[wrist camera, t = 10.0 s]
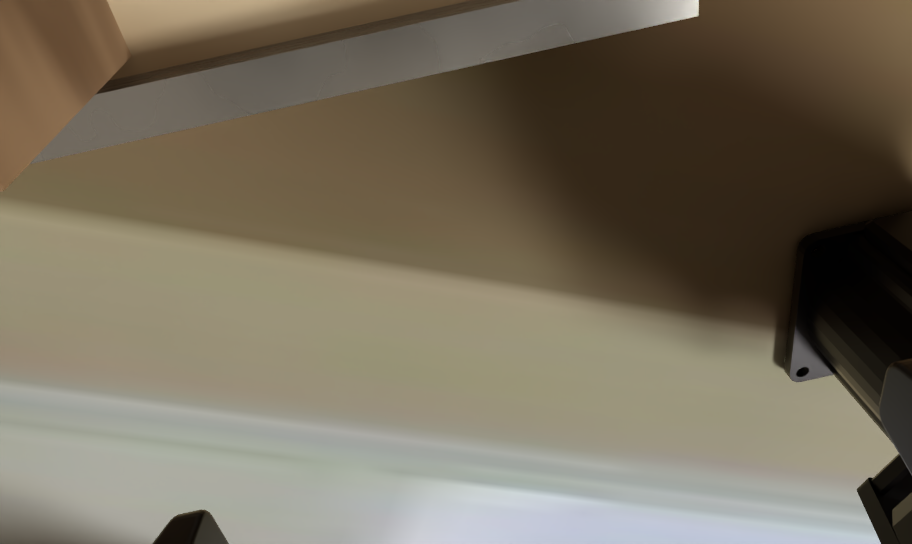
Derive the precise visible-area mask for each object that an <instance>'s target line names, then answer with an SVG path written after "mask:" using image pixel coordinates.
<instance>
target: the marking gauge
mask: <svg viewBox="0 0 912 544" xmlns="http://www.w3.org/2000/svg"><path fill="white" fill-rule="evenodd" d="M130 57H131V53H130V51H129V49H128V47H127V44H126V42H125V40H124V38H123V35H122V33H121V31H120V29H119V26H118V24H117V22H116V20H115V17H114V15H113V13H112V11H111V8H110V6H109V4H108V2H107V0H0V192H1V191H4V190H5V189H6V188H7V187H8V186H9V185H10V184H11V183H12V182H13V181H14V180H15V179H16V177H17V176H18V175H19V174H20V173H21V172H22V171H23V170H24V169H25V168H26V167H27V166H28V165H29V164H30V163H31V162H32V161H33V160H34V159H35V157H36V156H37V155H38V154H39V153H40V152H41V151H42V150H43V149H44V148H45V147H46V146H47V145H48V144H49V143H50V142H51V141H52V140H53V138H54V137H55V136H56V135H57V134H58V133H59V132H60V131H61V130H62V129H63V128H64V127H65V126H66V125H67V124H68V123H69V122H70V121H71V119H72V118H73V117H74V116H75V115H76V114H77V113H78V112H79V111H80V110H81V109H82V108H83V107H84V106H85V105H86V104H87V103H88V102H89V101H90V99H91V98H92V97H93V96H94V95H95V94H96V93H97V92H98V91H99V90H100V89H101V88H102V87H103V86H104V85H105V84H106V83H107V82H108V80H109V79H110V78H111V77H112V76H113V75H114V74H115V73H116V72H117V71H118V70H119V69H120V68H121V67H122V66H123V65H124V64H125V63H126V62H127V60H128V59H129V58H130Z"/></svg>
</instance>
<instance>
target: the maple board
mask: <svg viewBox="0 0 912 544" xmlns="http://www.w3.org/2000/svg"><path fill="white" fill-rule="evenodd" d="M466 1H470V0H107V2H108V4H109V6H110V8H111V11H112V13H113V15H114V17H115V20H116V22H117V24H118V26H119V29H120V31H121V33H122V35H123V38H124V40H125V42H126V44H127V47H128V49H129V51H130V53H131V57H130V58H129V59H128V60H127V62H126V63H125V64H124V65H123V66H122V67H121V68H120V69H119V70H118V71H117V72H116V73H115V74H114V75H113V76H112V77H111V78H110V79H109V80H113V79H118V78H122V77H127V76H131V75H136V74H140V73H145V72H150V71H154V70H159V69H163V68H168V67H172V66H177V65H181V64H186V63H190V62H195V61H199V60H204V59H208V58H213V57H217V56H222V55H226V54H231V53H235V52H240V51H244V50H249V49H253V48H258V47H262V46H267V45H272V44H276V43H281V42H285V41H290V40H294V39H299V38H303V37H308V36H312V35H317V34H321V33H326V32H330V31H335V30H339V29H344V28H348V27H353V26H357V25H362V24H366V23H371V22H375V21H380V20H384V19H389V18H394V17H398V16H403V15H407V14H412V13H416V12H421V11H425V10H430V9H434V8H439V7H443V6H448V5H452V4H457V3H461V2H466ZM109 80H108V81H109Z"/></svg>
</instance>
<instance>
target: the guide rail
mask: <svg viewBox="0 0 912 544" xmlns="http://www.w3.org/2000/svg"><path fill="white" fill-rule="evenodd" d="M696 16H699V0H470V1H466V2H461V3H457V4H452V5H448V6H443V7H439V8H434V9H430V10H425V11H421V12H416V13H412V14H407V15H403V16H398V17H394V18H389V19H384V20H380V21H375V22H371V23H366V24H362V25H357V26H353V27H348V28H344V29H339V30H335V31H330V32H326V33H321V34H317V35H312V36H308V37H303V38H299V39H294V40H290V41H285V42H281V43H276V44H272V45H267V46H262V47H258V48H253V49H249V50H244V51H240V52H235V53H231V54H226V55H222V56H217V57H213V58H208V59H204V60H199V61H195V62H190V63H186V64H181V65H177V66H172V67H168V68H163V69H159V70H154V71H150V72H145V73H140V74H136V75H131V76H127V77H122V78H118V79H113V80H109V81H108V82H107V83H106V84H105V85H104V86H103V87H102V88H101V89H100V90H99V91H98V92H97V93H96V94H95V95H94V96H93V97H92V98H91V99H90V101H89V102H88V103H87V104H86V105H85V106H84V107H83V108H82V109H81V110H80V111H79V112H78V113H77V114H76V115H75V116H74V117H73V118H72V119H71V121H70V122H69V123H68V124H67V125H66V126H65V127H64V128H63V129H62V130H61V131H60V132H59V133H58V134H57V135H56V136H55V137H54V138H53V140H52V141H51V142H50V143H49V144H48V145H47V146H46V147H45V148H44V149H43V150H42V151H41V152H40V153H39V154H38V155H37V156H36V157H35V159H34V160H33V161H32V162H31V163H30V164H32V163H36V162H41V161H45V160H50V159H54V158H59V157H63V156H68V155H72V154H77V153H81V152H86V151H91V150H95V149H100V148H104V147H109V146H113V145H118V144H122V143H127V142H131V141H136V140H140V139H145V138H149V137H154V136H158V135H163V134H167V133H172V132H176V131H181V130H185V129H190V128H194V127H199V126H203V125H208V124H213V123H217V122H222V121H226V120H231V119H235V118H240V117H244V116H249V115H253V114H258V113H262V112H267V111H271V110H276V109H280V108H285V107H289V106H294V105H298V104H303V103H307V102H312V101H316V100H321V99H325V98H330V97H335V96H339V95H344V94H348V93H353V92H357V91H362V90H366V89H371V88H375V87H380V86H384V85H389V84H393V83H398V82H402V81H407V80H411V79H416V78H420V77H425V76H429V75H434V74H438V73H443V72H447V71H452V70H457V69H461V68H466V67H470V66H475V65H479V64H484V63H488V62H493V61H497V60H502V59H506V58H511V57H515V56H520V55H524V54H529V53H533V52H538V51H542V50H547V49H551V48H556V47H560V46H565V45H569V44H574V43H579V42H583V41H588V40H592V39H597V38H601V37H606V36H610V35H615V34H619V33H624V32H628V31H633V30H637V29H642V28H646V27H651V26H655V25H660V24H664V23H669V22H673V21H678V20H682V19H687V18H691V17H696Z"/></svg>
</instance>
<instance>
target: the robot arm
mask: <svg viewBox="0 0 912 544" xmlns="http://www.w3.org/2000/svg"><path fill="white" fill-rule="evenodd" d="M817 246H818V248H817V249H816V250H815V251H812V250H813V249H814V248H815V247H817ZM784 369H785V372H786V373H787V375H788V376H789V377H790V379H791V380H792V381H795V382H802V381H807V380H811V379H816V378H820V377H825V376H829V375H835V377H836V378H837V379H838V380H839V381H840V382H841V383H842V385H843V386H844V387H845V388H846V389H847V390H848V392H849V393H850V394H851V395H852V396H853V397H854V399H855V400H856V401H857V402H858V403H859V404H860V406H861V407H862V408H863V409H864V410H865V411H866V413H867V414H868V415H869V416H870V417H871V418H872V419H873V421H874V422H875V423H876V424H877V425H878V426H879V428H880V429H881V430H882V431H883V432H884V433H885V435H886V436H887V437H888V438H889V439H890V440H891V442H892V443H893V444H894V445H895V447H896V449H897V451H898V452H899V454H898V455H897V456H896V457H895V458H894V459H893V460H892V461H891V462H890V463H889V464H887V465H886V466H885V467H884V468H883V469H882V470H881V471H880V472H879V473H878V474H877V475H876V476H875V477H874V478H868V479H867V480H866V481H865V482H864V483H863V484H862V485H861V486H860V487H858V488H857V492H858V494H859V496H860V498H861V501H862V503H863V505H864V507H865V509H866V512H867V514H868V516H869V518H870V520H871V522H872V525H873V527H874V529H875V531H876V533H877V535H878V538H879V540H880V542H881V544H912V211H910V212H905V213H901V214H896V215H892V216H887V217H883V218H878V219H874V220H872V221H867V222H863V223H858V224H853V225H849V226H844V227H840V228H835V229H831V230H826V231H822V232H817V233H813V234H810V235H808V236H806V237H805V238H804V239H803V240H802V241H801V242H800V244H799V246H798V249H797V258H796V267H795V276H794V286H793V295H792V304H791V313H790V322H789V331H788V340H787V349H786V358H785V367H784ZM153 544H229V543H228V542H227V540H226V538H225V537H224V535H223V533H222V532H221V530H220V528H219V527H218V525H217V523H216V522H215V520H214V518H213V517H212V515H211V514H210V513H209V512H208V511H206V510H197V511H193V512H188V513H183V514H179V515H177V516H175V517H174V518H173V519H171V520H170V522H169V523H168V524H167V525H166V527H165V528H164V529H163V531H162V532H161V533H160V534H159V536H158V537H157V538H156V540H155V541H154V542H153Z"/></svg>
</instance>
